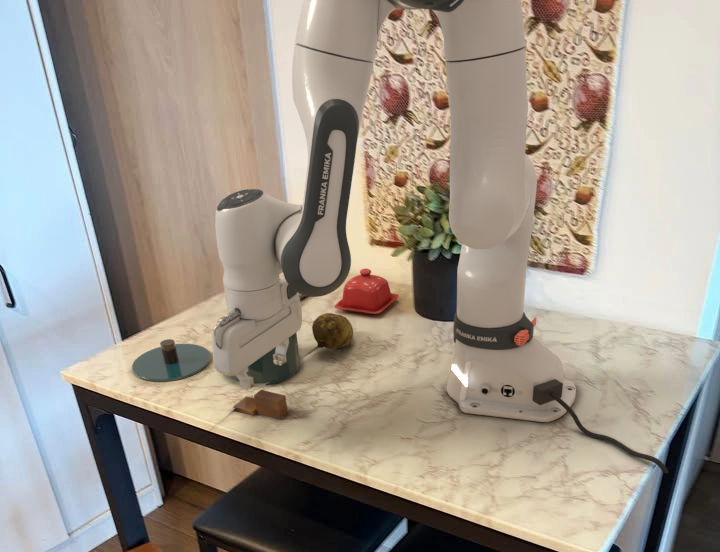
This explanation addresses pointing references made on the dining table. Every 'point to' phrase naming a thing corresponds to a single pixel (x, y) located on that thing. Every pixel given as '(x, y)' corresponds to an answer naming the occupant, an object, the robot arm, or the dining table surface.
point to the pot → (271, 372)
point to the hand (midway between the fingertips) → (264, 375)
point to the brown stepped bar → (264, 404)
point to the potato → (332, 331)
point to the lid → (171, 362)
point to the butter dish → (366, 294)
